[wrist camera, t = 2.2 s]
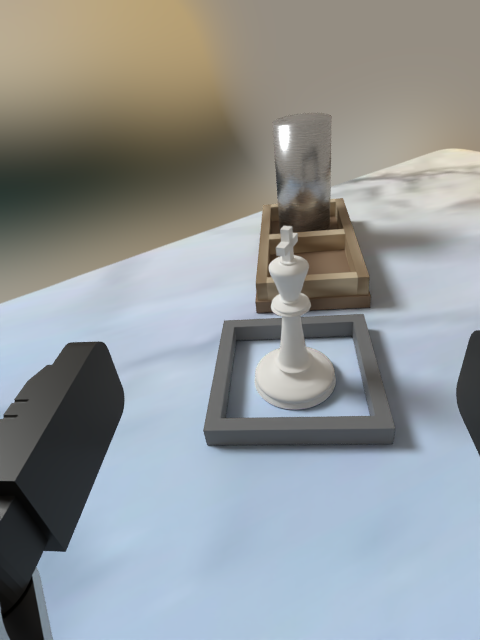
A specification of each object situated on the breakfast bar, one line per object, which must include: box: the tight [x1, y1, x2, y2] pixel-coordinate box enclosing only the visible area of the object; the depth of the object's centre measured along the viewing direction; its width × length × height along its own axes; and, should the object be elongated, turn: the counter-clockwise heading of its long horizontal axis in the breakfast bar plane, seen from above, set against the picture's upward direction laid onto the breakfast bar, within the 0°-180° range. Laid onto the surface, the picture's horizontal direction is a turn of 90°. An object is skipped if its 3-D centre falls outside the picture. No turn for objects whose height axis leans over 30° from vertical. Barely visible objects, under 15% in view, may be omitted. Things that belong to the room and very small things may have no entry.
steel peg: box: [273, 113, 331, 234], centre depth 37 cm, size 5×5×10 cm
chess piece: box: [255, 226, 336, 410], centre depth 22 cm, size 5×5×10 cm
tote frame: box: [203, 314, 395, 445], centre depth 25 cm, size 10×10×1 cm
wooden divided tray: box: [256, 198, 371, 313], centre depth 36 cm, size 8×16×2 cm, turn 175°
